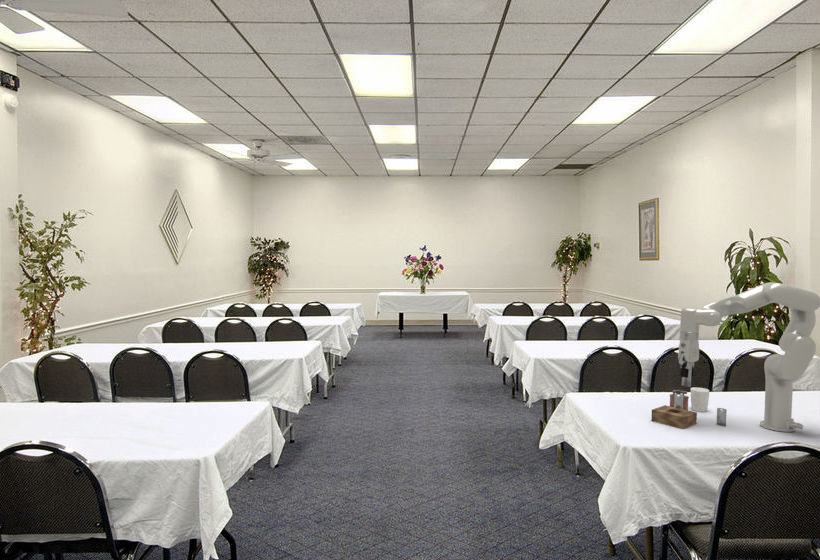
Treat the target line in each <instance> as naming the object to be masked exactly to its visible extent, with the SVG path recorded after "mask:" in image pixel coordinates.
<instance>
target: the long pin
mask: <svg viewBox="0 0 820 560" xmlns="http://www.w3.org/2000/svg"><path fill="white" fill-rule="evenodd" d="M684 361H686V360H684ZM686 362H687V361H686ZM685 364H686V363H685ZM688 369H689V374H688V378H685V377H681V386H683V387H686V388H687V387H688V388H692V387H691V385H692V377H691V373H692V362H689V364H688Z"/></svg>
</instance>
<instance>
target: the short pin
mask: <svg viewBox="0 0 820 560" xmlns="http://www.w3.org/2000/svg"><path fill="white" fill-rule="evenodd" d="M727 413H728V412H727V409H726V408H724V407H717V408H716V425H717V426H719V427H726V426H727Z"/></svg>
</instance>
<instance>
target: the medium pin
mask: <svg viewBox="0 0 820 560" xmlns="http://www.w3.org/2000/svg"><path fill="white" fill-rule="evenodd" d="M674 407H675V408H679V409H683V395H682V394H676V393H675V395H674Z"/></svg>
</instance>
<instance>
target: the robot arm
mask: <svg viewBox="0 0 820 560" xmlns="http://www.w3.org/2000/svg"><path fill="white" fill-rule="evenodd" d="M771 303H775V304H778V305H782V306H784V307H787V308H789V310H790V314H791V315H790V316H791V317H790V320H789V322H788V325H787V326H786V328H785V330H784V332H783V334H782V335H781V337H780V338H779V341H778V347H779V349H780V350H781V351H783V352H784V354H780V353H775V354H774V353H773V354H771V355H769V356H767V358H766V359H765V361H764V367H763V369H764V375H765V376H764V377H765V388H764V389H765V390H764V391H765V392H764V394H765V395H764V413H763V414H764V417H763V420H761V421H759V426H761V427H762V428H765V429H768V430H770V431H777V432H783V433H792V432H795V431H796V429H799V430H803V429H804V424H802V423H800V422H795V419H794V418H792V416H793V415H792V414H793V413H792V411H793V410H792V409H793V392H794V387H793V386H794V385H793V382H796V381H798V380H799V379H801V378H802V377H803V375H804V374H805V373H806V370H807V369H808V367H809V366H810V364H811V362H812V360H813V358H814V356H815V354H816V352H817V345H816V342H815V340H814V339H813V338H812V337H811V335H812V333H813V330H814V329H815V326H816V322H817V315H816V312H815V311H817V310H818V309H819V308H820V296H819V295H818V294H817V293H816V292H813V291H809V290H805V289H802V288H798V287H794V286H791V285H789V284H785V283H780V282H770V281H769V282H765V283H763V284H760V285H758V286H754V287H753V288H750V289H747V290H746V291H743V292H741V293H739V294H735V295H732V296H729V297H726V298H724V299H720V300H717V301H715V302H714V301H713V302H712V303H709V304H707V305H705V306H702V307H701V308H699V309H698V308H694V307H683V308H681V310H680V320H679V321H680V322H679V323H680V324H679V343H678V353H677V357H678V358H677V359H678V363H679V365H680V376H679V377H681V378H682V377H685V378H688V374H689V369H688V364H689V362H692V373H691V378H692V377H694V369H695V363H696V362H698V361H699V359H700V341H699V339H700V326H706V327H716V326H719V325H720V324H721V322H722V319H723V318H724V317H726V316H732V315H740V314H741V315H742V314H746V313H750V312H752V311H755V310H757V309H760V308H762V307H764V306H767V305H770V304H771ZM684 360H686V361H687V362H686V361H684ZM685 363H686V364H685Z"/></svg>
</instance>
